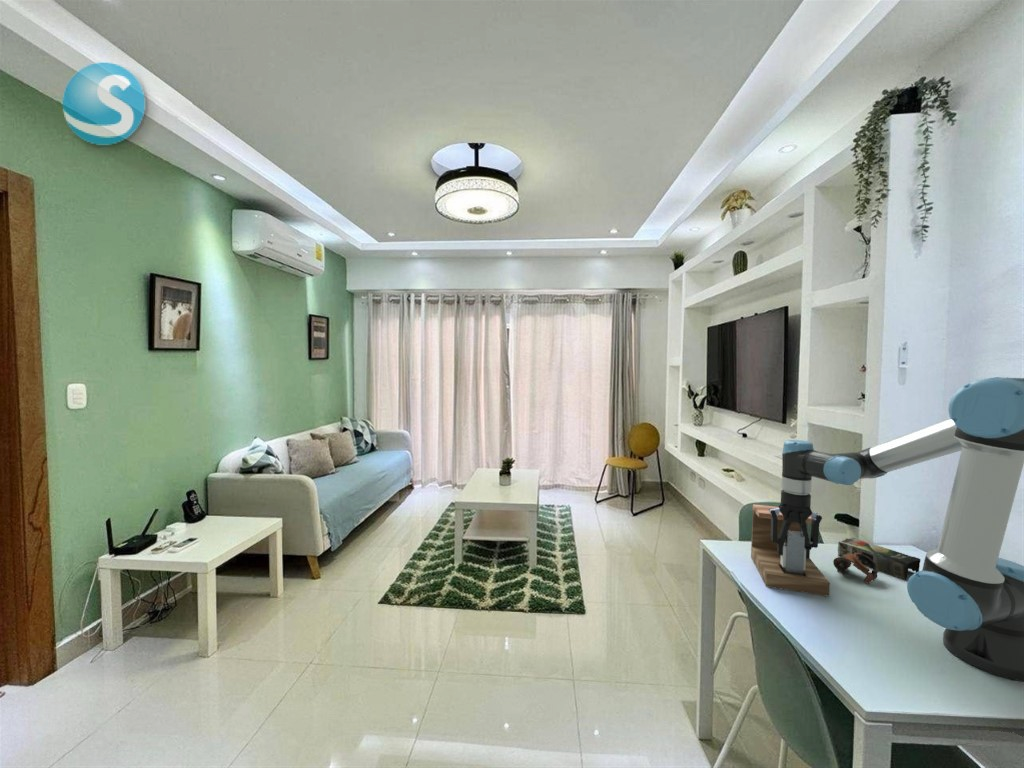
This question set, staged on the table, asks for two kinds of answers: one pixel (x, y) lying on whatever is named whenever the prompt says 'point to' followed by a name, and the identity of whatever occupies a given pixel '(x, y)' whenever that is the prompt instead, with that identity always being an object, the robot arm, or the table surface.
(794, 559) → the peg
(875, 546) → the juice carton
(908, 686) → the table surface
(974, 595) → the robot arm
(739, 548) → the table surface
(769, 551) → the socket stand
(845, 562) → the brown ring shaped figurine
